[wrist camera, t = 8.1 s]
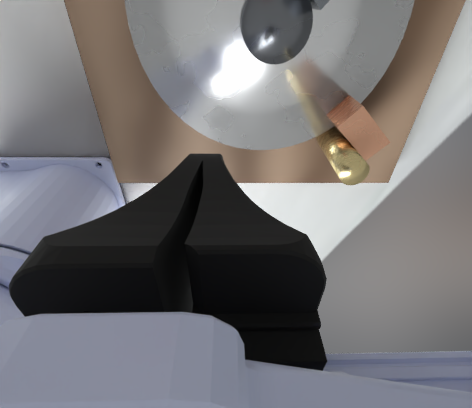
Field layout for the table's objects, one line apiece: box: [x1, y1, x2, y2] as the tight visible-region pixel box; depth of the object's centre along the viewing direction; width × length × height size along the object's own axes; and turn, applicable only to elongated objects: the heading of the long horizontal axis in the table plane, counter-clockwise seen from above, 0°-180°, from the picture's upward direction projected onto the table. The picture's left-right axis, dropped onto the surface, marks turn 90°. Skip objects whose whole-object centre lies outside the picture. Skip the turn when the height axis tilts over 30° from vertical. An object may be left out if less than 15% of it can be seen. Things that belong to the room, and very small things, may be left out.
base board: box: [64, 0, 466, 183], centre depth 15 cm, size 21×21×2 cm
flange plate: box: [125, 0, 415, 161], centre depth 13 cm, size 16×16×4 cm
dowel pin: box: [316, 126, 370, 185], centre depth 17 cm, size 2×2×5 cm
